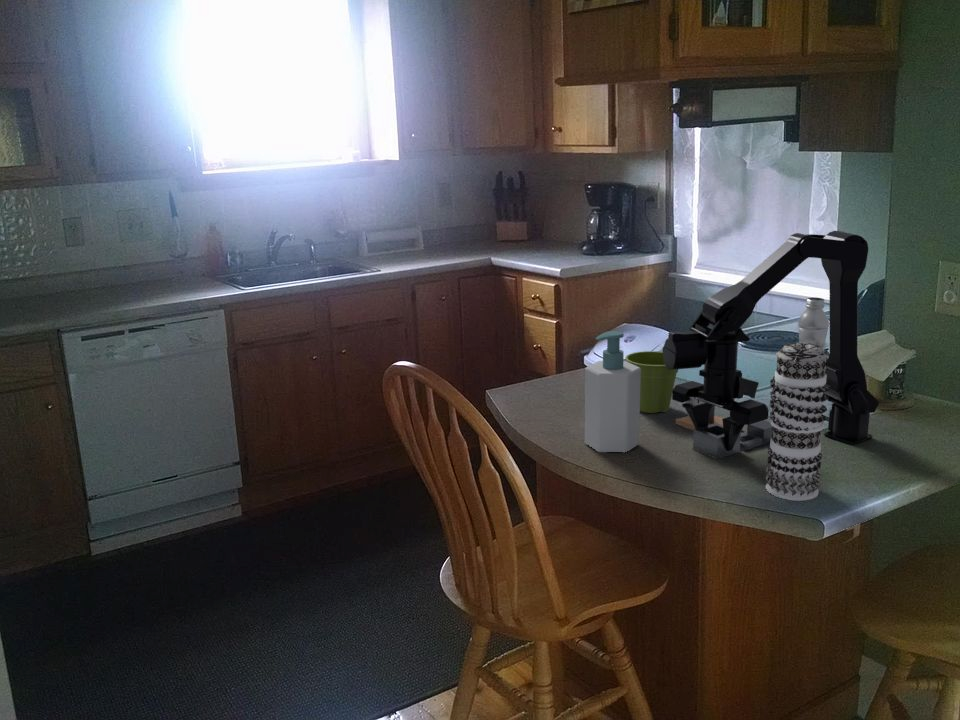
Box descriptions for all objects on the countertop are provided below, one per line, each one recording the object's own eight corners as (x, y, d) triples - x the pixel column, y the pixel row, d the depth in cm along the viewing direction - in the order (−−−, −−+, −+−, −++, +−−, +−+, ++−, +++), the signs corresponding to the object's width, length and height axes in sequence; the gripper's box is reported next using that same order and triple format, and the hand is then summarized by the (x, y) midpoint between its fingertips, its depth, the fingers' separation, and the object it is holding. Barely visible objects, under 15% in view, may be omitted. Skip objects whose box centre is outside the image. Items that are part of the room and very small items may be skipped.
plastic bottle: (828, 388, 206) (836, 301, 200) (798, 389, 206) (805, 302, 200) (819, 380, 212) (826, 295, 206) (789, 380, 212) (795, 296, 207)
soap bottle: (577, 439, 178) (578, 330, 172) (617, 432, 182) (620, 324, 176) (604, 457, 169) (606, 342, 163) (646, 449, 173) (650, 336, 167)
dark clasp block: (777, 439, 176) (778, 425, 175) (743, 450, 171) (744, 435, 170) (760, 434, 179) (761, 419, 178) (726, 444, 174) (727, 429, 173)
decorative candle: (776, 503, 148) (787, 355, 142) (754, 481, 157) (763, 340, 150) (830, 500, 149) (843, 352, 142) (805, 478, 158) (817, 337, 151)
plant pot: (685, 417, 189) (687, 365, 186) (627, 418, 190) (628, 365, 187) (675, 399, 201) (677, 350, 198) (621, 400, 201) (622, 350, 198)
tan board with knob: (741, 429, 182) (742, 403, 180) (712, 437, 177) (714, 411, 176) (703, 416, 190) (704, 390, 188) (675, 424, 186) (676, 398, 184)
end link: (739, 451, 170) (740, 431, 169) (717, 459, 167) (718, 438, 166) (715, 442, 175) (716, 422, 174) (692, 449, 172) (693, 429, 171)
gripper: (791, 369, 163) (785, 450, 167) (713, 347, 178) (709, 423, 183) (749, 380, 157) (744, 464, 162) (671, 357, 173) (668, 434, 177)
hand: (716, 445), depth 171 cm, fingers closed on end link, 6 cm apart
